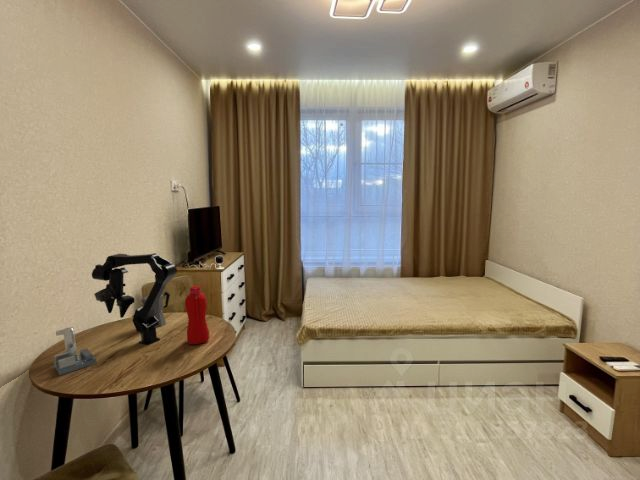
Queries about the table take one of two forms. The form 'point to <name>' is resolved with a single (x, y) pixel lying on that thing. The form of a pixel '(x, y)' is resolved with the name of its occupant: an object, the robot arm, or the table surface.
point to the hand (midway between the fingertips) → (115, 315)
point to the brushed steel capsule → (69, 340)
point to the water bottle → (196, 316)
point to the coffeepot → (159, 308)
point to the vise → (73, 361)
